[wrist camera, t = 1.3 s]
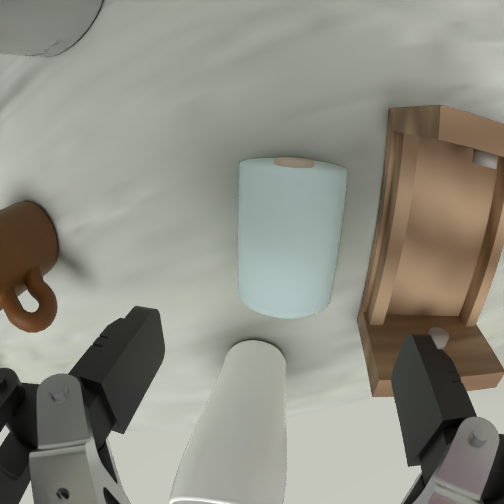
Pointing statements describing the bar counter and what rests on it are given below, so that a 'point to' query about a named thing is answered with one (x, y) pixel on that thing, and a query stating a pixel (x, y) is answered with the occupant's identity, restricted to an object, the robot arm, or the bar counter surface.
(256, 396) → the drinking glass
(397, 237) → the roll holder
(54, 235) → the mug
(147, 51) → the bar counter surface
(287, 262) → the paper roll
